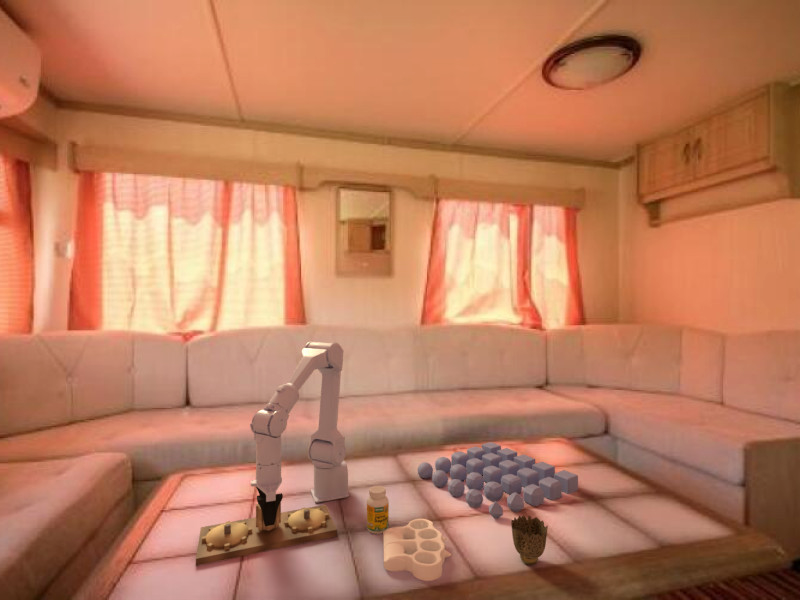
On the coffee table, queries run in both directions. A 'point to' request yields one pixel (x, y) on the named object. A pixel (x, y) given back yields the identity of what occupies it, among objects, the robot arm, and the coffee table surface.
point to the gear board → (263, 534)
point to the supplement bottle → (377, 510)
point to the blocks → (499, 477)
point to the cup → (529, 538)
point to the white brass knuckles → (415, 549)
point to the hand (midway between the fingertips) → (268, 518)
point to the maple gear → (261, 522)
